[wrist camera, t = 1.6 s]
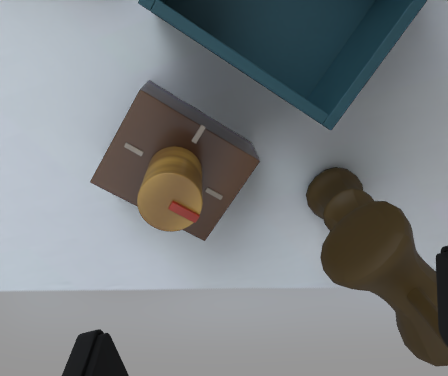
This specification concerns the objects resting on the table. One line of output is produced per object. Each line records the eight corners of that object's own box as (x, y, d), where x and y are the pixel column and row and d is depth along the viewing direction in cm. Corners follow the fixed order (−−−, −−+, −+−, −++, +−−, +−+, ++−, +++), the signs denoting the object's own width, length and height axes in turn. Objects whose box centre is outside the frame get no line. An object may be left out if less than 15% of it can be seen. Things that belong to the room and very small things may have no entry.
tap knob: (138, 180, 29) (124, 215, 23) (164, 136, 28) (156, 162, 22) (185, 205, 30) (181, 244, 24) (212, 163, 29) (215, 194, 23)
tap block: (104, 161, 33) (88, 184, 29) (149, 78, 31) (140, 88, 26) (203, 214, 36) (204, 243, 31) (252, 141, 33) (261, 160, 29)
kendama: (340, 242, 38) (474, 447, 19) (273, 181, 35) (355, 355, 17) (388, 201, 36) (582, 379, 18) (322, 133, 33) (473, 266, 15)
